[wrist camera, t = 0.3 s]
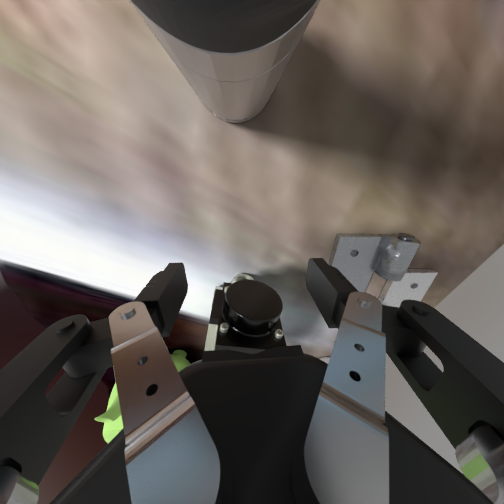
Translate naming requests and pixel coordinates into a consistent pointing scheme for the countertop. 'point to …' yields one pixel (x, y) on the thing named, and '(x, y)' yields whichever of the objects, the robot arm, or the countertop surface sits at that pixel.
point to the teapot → (113, 410)
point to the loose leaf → (407, 287)
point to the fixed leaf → (373, 256)
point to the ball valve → (245, 317)
